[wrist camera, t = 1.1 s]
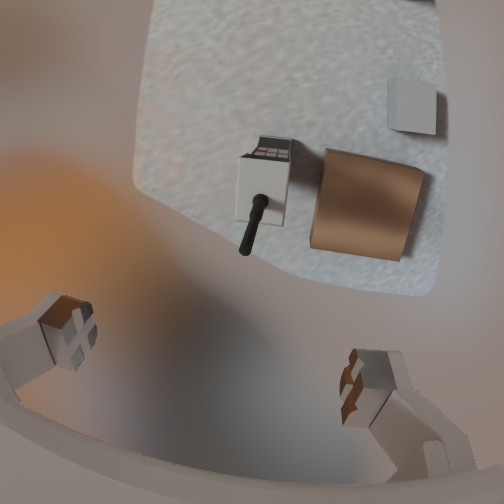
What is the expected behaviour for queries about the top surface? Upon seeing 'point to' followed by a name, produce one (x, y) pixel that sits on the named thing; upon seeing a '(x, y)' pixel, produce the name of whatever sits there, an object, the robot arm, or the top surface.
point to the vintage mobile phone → (262, 187)
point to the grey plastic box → (411, 106)
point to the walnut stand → (364, 205)
